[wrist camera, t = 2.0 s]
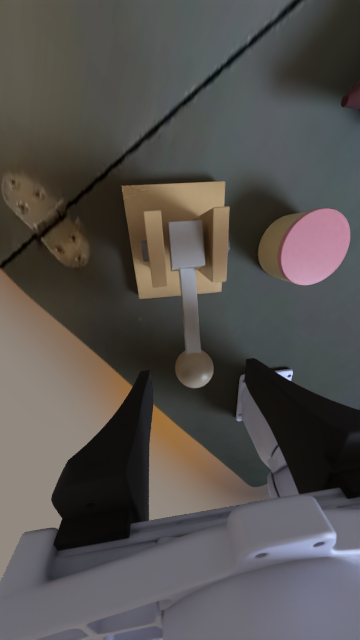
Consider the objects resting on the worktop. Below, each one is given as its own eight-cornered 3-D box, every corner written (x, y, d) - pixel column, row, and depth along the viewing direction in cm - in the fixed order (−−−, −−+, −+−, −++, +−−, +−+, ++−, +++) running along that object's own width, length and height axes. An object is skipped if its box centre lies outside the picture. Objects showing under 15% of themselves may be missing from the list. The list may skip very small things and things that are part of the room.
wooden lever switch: (218, 289, 21) (250, 316, 14) (140, 295, 21) (129, 328, 13) (221, 184, 17) (269, 141, 10) (123, 189, 16) (93, 146, 9)
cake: (306, 274, 22) (338, 282, 18) (254, 279, 21) (275, 288, 17) (320, 212, 19) (361, 206, 15) (261, 216, 19) (287, 210, 15)
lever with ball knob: (209, 374, 16) (219, 393, 13) (175, 378, 16) (178, 398, 13) (200, 232, 14) (209, 217, 11) (162, 235, 14) (161, 220, 11)
